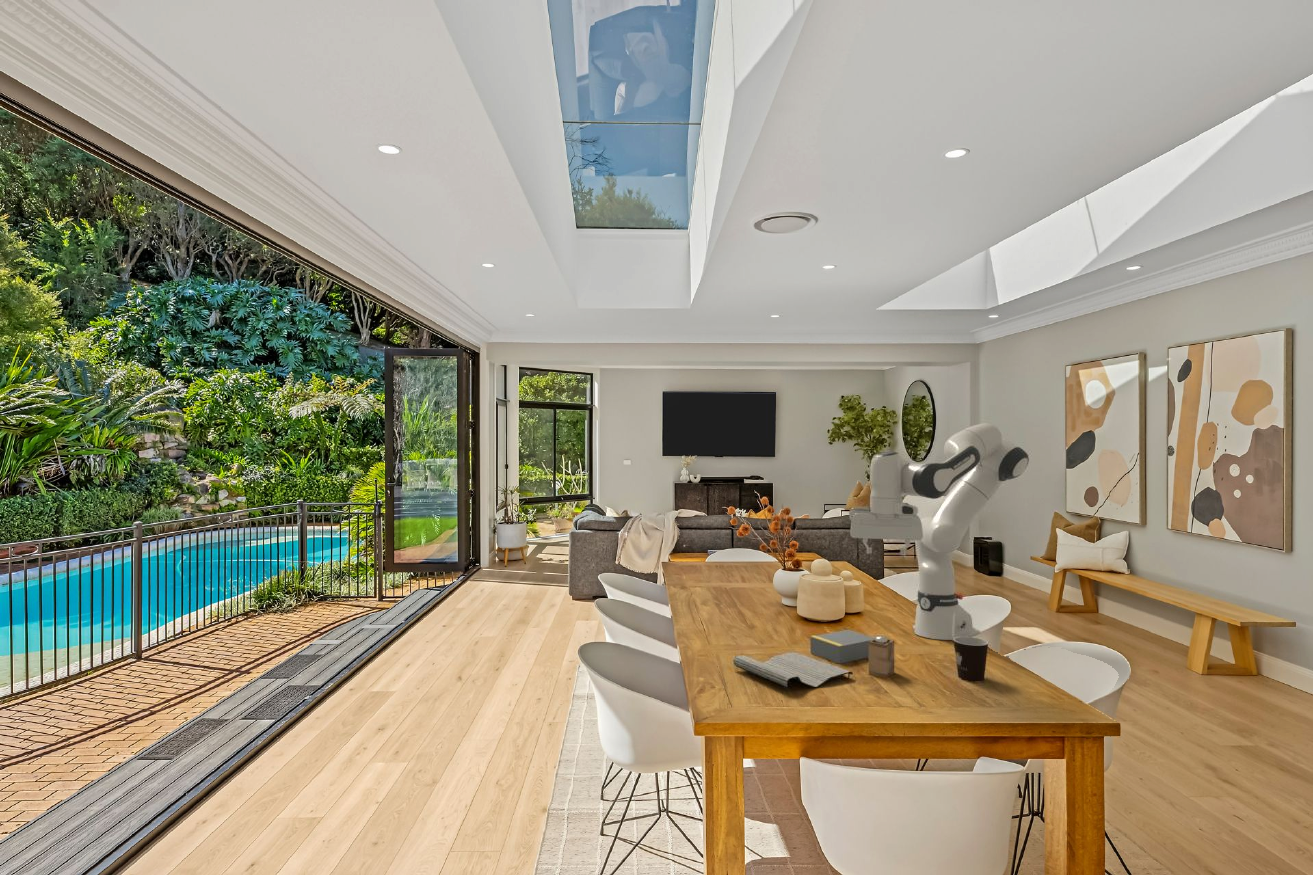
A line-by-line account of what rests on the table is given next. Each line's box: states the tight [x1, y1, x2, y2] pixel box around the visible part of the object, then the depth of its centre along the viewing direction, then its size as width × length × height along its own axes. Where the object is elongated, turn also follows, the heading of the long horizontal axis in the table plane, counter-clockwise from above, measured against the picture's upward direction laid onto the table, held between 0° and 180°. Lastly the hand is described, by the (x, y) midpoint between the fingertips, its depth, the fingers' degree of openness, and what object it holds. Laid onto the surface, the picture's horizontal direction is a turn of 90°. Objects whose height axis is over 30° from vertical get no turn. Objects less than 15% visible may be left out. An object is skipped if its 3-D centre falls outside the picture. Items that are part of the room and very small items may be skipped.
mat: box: [732, 651, 854, 693], centre depth 187 cm, size 23×24×5 cm
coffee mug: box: [952, 636, 989, 683], centre depth 185 cm, size 12×9×10 cm
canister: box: [874, 635, 888, 644], centre depth 188 cm, size 3×3×2 cm
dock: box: [810, 629, 875, 665], centre depth 205 cm, size 16×12×5 cm
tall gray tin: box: [868, 637, 895, 679], centre depth 188 cm, size 6×5×9 cm
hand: (886, 554), depth 198 cm, fingers open, 8 cm apart
